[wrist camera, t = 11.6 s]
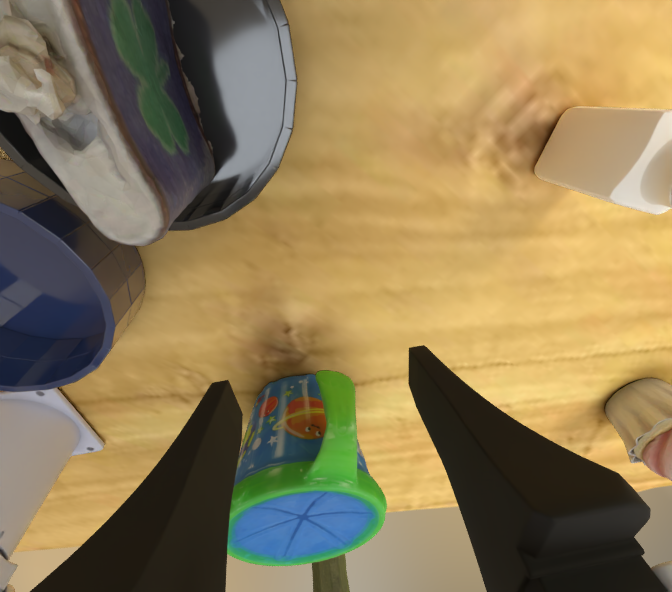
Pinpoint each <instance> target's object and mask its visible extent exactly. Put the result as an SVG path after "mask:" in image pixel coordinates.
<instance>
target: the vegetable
mask: <svg viewBox="0 0 672 592" xmlns="http://www.w3.org/2000/svg"><path fill="white" fill-rule="evenodd" d="M312 570H313V592H350V591H349V585H348V579H347V572H346V560H345V554H342V555H340V556H337V557H334V558H330V559H327V560H323V561H319V562H314V563H312Z"/></svg>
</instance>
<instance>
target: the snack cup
mask: <svg viewBox="0 0 672 592" xmlns="http://www.w3.org/2000/svg"><path fill="white" fill-rule="evenodd" d="M386 509H387V503H386V499H385V496H384V494H383V492H382V490H381V488H380V487H379V486H378V484H377V483H376V481H375V480H374V479H373V478H372V477H371V476H370V474H369V472H368V469H367V466H366V462H365V459H364V456H363V454H362V451H361V449H360V446H359V442H358V440H357V426H356V415H355V387H354V384H353V382H352V380H351V379H350V378H349V377H348V376H346V375H344V374H342V373H339V372H334V371H329V370H322V371H318V372H317V373H316V375H313V374H308V375H305V376H291V377H287V378H282V379H280V380H278V381H276V382H270V383H269V384H268V385H266V386H265V387H264V389H263V391H262V392H261V393H260V394H259V395H258V397H257V399H256V401H255V404H254V407H253V409H252V413H251V416H250V420H249V423H248V427H247V430H246V434H245V437H244V440H243V444H242V447H241V451H240V454H239V458H238V465H237V470H236V476H235V482H234V488H233V494H232V500H231V508H230V518H229V532H228V546H227V554H229V555H230V556H232V557H234V558H236V559H239V560H242V561H245V562H248V563H253V564H258V565H267V566H291V565H301V564H307V563H314V562H319V561H323V560H327V559H330V558H334V557H337V556H340V555H342V554H345V553H347V552H350V551H352V550H354V549H356V548H358V547H360V546H361V545H363V544H365V543H366V542H367V541H369V540H370V539H372V538H373V537H374V536H375V534H377V533H378V531H379V530H380V529H381V527H382V526H383V523H384V520H385V512H386Z"/></svg>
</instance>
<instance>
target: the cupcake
mask: <svg viewBox="0 0 672 592" xmlns="http://www.w3.org/2000/svg"><path fill="white" fill-rule="evenodd" d="M605 412H606V416H607V417H608V419H609V420H610V422H611V423H612V425H613V426H614V428H615V429H616V431H617V432H618V434H619V435H620V437H621V438H622V440H623V442H624V444H625V447H626V450H627V453H628V456H629V459H630V462H631V463H637V462H643V463H644V465H646V466H647V467H648V468H649V469H650V470H652V471H653V472H655V473H656V474H658V475H660V476H662V477H666V478H668V479H669V480H671V481H672V385H670V384H668V383H666V382H664V381H662V380H660V379H655V378H646V379H642V380H638V381H635V382H633V383H630V384H628V385H627V386H625V387H623V388H622V389H620V390H619V391H617V392H616V393H615V394H614V395H613V396H612V397H611V398H610V399H609V401H608V402H607V404H606V406H605Z"/></svg>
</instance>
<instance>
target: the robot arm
mask: <svg viewBox="0 0 672 592" xmlns="http://www.w3.org/2000/svg"><path fill="white" fill-rule="evenodd" d="M409 386H410V389H411V392H412V395H413V398H414V401H415V404H416V407H417V409H418V411H419V414H420V416H421V418H422V420H423V422H424V424H425V426H426V428H427V431H428V433H429V435H430V437H431V439H432V441H433V443H434V445H435V447H436V450H437V452H438V454H439V456H440V458H441V460H442V463H443V465H444V467H445V470H446V472H447V475H448V478H449V480H450V483H451V486H452V489H453V491H454V494H455V497H456V500H457V503H458V505H459V508H460V511H461V514H462V517H463V520H464V523H465V525H466V528H467V531H468V534H469V537H470V540H471V543H472V546H473V549H474V552H475V556H476V559H477V562H478V565H479V568H480V571H481V574H482V577H483V581H484V584H485V587H486V590H487V592H672V561H669V562H665V563H661V564H658V565H656V566H654V567H652V568H650V567H649V565H648V564H647V563H646V562H645V560H644V559H643V558H642V556H641V555H643V554H644V549H643V548H642V547H641V546H640V544H639V543H638V542H637V541H636V539H635V538H634V536H635V535H636V534H637V533H638V532H639V531H640V529H641V528H642V527H643V526H644V525H645V524H646V523H647V521H648V520H649V518H650V508H649V506H648V505H647V504H646V503H645V502H644V501H643V500H642V499H641V497H640V496H639V495H638V494H637V492H636V491H635V490H634V489H633V488H632V487H631V486H630V485H629V484H628V483H627V482H626V481H625V480H624V479H623V478H622V476H621V475H620V474H619V473H616V472H614V471H612V470H610V469H608V468H605V467H603V466H601V465H599V464H597V463H594V462H592V461H590V460H588V459H586V458H583V457H581V456H579V455H577V454H575V453H573V452H571V451H569V450H567V449H565V448H563V447H561V446H560V445H558V444H556V443H554V442H552V441H550V440H548V439H547V438H545V437H543V436H541V435H540V434H538V433H536V432H534V431H533V430H531V429H529V428H528V427H526V426H524V425H522V424H521V423H519V422H518V421H516V420H515V419H513V418H511V417H510V416H508V415H507V414H506V413H504V412H503V411H501V410H500V409H498V408H497V407H495V406H494V405H493V404H491V403H490V402H489V401H487V400H486V399H485V398H483V397H482V396H481V395H479V394H478V393H477V392H476V391H474V390H473V389H472V388H471V387H469V386H468V385H467V384H466V383H465V382H464V381H462V380H461V379H460V378H459V377H458V376H457V375H455V374H454V373H453V372H452V371H451V370H450V369H449V368H448V367H447V366H445V365H444V364H443V363H442V362H441V361H440V360H439V359H438V358H437V357H436V356H435V355H434V354H433V353H432V352H431V351H430V350H429V349H428V348H427V347H426V346H424V345H423V346H417V347H412V348H409ZM242 416H243V414H242V411H241V409H240V407H239V404H238V402H237V400H236V397H235V395H234V392H233V390H232V388H231V385H230V383H229V381H228V380H225V381H220V382H214V383H212V384H211V385H210V387H209V389H208V390H207V392H206V393H205V395H204V397H203V398H202V400H201V401H200V403H199V405H198V406H197V408H196V409H195V411H194V413H193V414H192V416H191V417H190V419H189V420H188V422H187V423H186V425H185V426H184V428H183V429H182V431H181V432H180V434H179V435H178V437H177V438H176V439H175V441H174V442H173V443H172V445H171V446H170V448H169V449H168V450H167V452H166V453H165V454H164V456H163V457H162V458H161V460H160V461H159V462H158V464H157V465H156V466H155V467H154V469H153V470H152V471H151V472H150V474H149V475H148V476H147V477H146V478H145V480H144V481H143V482H142V483H141V484H140V486H139V487H138V488H137V489H136V490H135V491H134V492H133V494H132V495H131V496H130V497H129V498H128V499H127V500H126V501H125V502H124V503H123V504H122V505H121V507H120V508H119V509H118V510H117V511H116V512H115V513H114V514H113V515H112V516H111V517H110V518H109V519H108V520H107V521H106V522H105V523H104V524H103V525H102V526H101V527H100V528H99V529H98V530H97V531H96V532H95V533H94V534H93V535H92V536H91V537H90V538H89V539H88V540H87V541H86V542H85V543H84V544H83V545H82V546H81V547H80V548H79V549H78V550H77V551H75V552H74V553H73V554H72V555H71V556H70V557H69V558H68V559H67V560H66V561H65V562H63V563H62V564H61V565H60V566H59V567H58V568H57V569H55V570H54V571H53V572H52V573H51V574H50V575H49V576H47V577H46V578H45V579H44V580H43V581H42V582H41V583H39V584H38V585H37V586H36V587H35V588H34V589H32V590H31V591H30V592H225V587H226V564H227V546H228V532H229V518H230V508H231V500H232V494H233V488H234V482H235V476H236V470H237V465H238V458H239V452H240V446H241V439H242ZM104 445H105V444H104V442H103V441H102V440H101V439H100V438H99V436H98V435H97V434H96V433H95V432H94V431H93V429H92V428H91V427H90V426H89V425H88V424H87V422H86V421H85V420H84V419H83V418H82V417H81V415H80V414H79V413H78V412H77V411H76V409H75V408H74V407H73V406H72V405H71V404H70V402H69V401H68V400H67V399H66V398H65V397H64V395H63V394H62V393H61V392H60V391H59V389H58V388H53V389H50V390H40V391H27V392H8V391H4V392H0V592H15V589H14V587H13V586H12V585H10V584H8V582H9V580H10V579H11V577H12V575H13V573H14V571H15V570H16V568H17V566H18V565H17V564H14V563H11V562H9V561H8V560H9V559H10V557H11V555H12V554H13V552H14V550H15V549H16V547H17V545H18V544H19V542H20V540H21V539H22V537H23V535H24V534H25V532H26V530H27V529H28V527H29V525H30V524H31V522H32V520H33V519H34V517H35V515H36V514H37V512H38V510H39V509H40V507H41V505H42V504H43V502H44V500H45V499H46V497H47V495H48V494H49V492H50V490H51V489H52V487H53V485H54V484H55V482H56V480H57V478H58V477H59V475H60V473H61V472H62V470H63V468H64V467H65V465H66V463H67V462H68V460H69V458H70V457H71V456H74V455H79V454H85V453H90V452H96V451H100V450H102V449H103V447H104Z"/></svg>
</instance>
